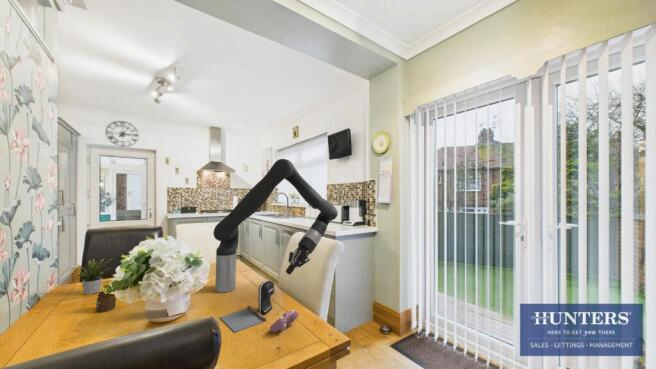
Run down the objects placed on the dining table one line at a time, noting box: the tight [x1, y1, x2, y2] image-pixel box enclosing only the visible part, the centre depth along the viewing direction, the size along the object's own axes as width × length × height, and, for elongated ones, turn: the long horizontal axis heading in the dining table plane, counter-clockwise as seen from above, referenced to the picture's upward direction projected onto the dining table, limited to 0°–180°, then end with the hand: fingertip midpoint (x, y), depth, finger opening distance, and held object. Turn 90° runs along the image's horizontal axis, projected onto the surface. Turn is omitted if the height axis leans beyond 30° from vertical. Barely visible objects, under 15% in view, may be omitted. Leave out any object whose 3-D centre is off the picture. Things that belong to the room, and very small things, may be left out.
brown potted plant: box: [95, 279, 117, 313], centre depth 102 cm, size 6×6×12 cm
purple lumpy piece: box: [269, 309, 299, 333], centre depth 88 cm, size 10×5×7 cm, turn 149°
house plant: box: [75, 258, 112, 295], centre depth 120 cm, size 14×14×16 cm
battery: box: [257, 280, 275, 315], centre depth 101 cm, size 7×4×11 cm, turn 165°
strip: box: [246, 305, 267, 323], centre depth 98 cm, size 14×1×1 cm, turn 43°
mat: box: [219, 308, 264, 333], centre depth 94 cm, size 14×11×1 cm
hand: (287, 273), depth 108 cm, fingers closed
